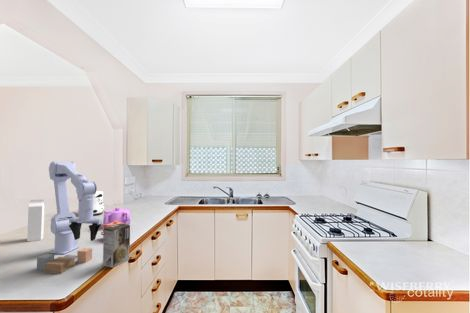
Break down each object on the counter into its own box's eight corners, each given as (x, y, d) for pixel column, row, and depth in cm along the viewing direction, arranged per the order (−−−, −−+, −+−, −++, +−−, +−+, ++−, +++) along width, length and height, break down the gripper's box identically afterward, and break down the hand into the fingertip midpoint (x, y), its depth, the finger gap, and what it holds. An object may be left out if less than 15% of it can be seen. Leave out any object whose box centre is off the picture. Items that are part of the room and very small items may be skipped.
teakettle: (102, 230, 154) (103, 211, 154) (103, 223, 169) (103, 206, 170) (131, 227, 162) (132, 209, 162) (129, 221, 177) (130, 204, 177)
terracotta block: (83, 258, 111) (84, 247, 111) (91, 259, 110) (92, 248, 111) (77, 262, 107) (77, 251, 107) (85, 262, 106) (85, 251, 107)
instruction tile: (66, 255, 114) (66, 254, 114) (78, 256, 113) (78, 255, 113) (52, 262, 106) (52, 261, 106) (65, 263, 105) (65, 262, 105)
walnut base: (59, 264, 104) (59, 256, 104) (74, 265, 103) (74, 257, 103) (44, 272, 97) (45, 263, 97) (60, 273, 96) (61, 264, 96)
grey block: (45, 265, 103) (45, 253, 103) (53, 266, 103) (54, 254, 103) (36, 269, 99) (37, 257, 99) (45, 270, 99) (46, 258, 99)
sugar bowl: (122, 242, 133) (122, 223, 134) (95, 242, 132) (96, 223, 133) (130, 235, 146) (130, 218, 146) (106, 235, 145) (106, 218, 145)
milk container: (108, 213, 199) (109, 192, 200) (86, 217, 185) (87, 194, 185) (96, 211, 209) (97, 190, 209) (75, 214, 194) (75, 192, 194)
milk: (30, 238, 136) (31, 199, 137) (43, 237, 139) (44, 198, 139) (27, 241, 131) (28, 200, 131) (41, 240, 134) (42, 200, 134)
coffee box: (119, 257, 113) (120, 222, 113) (129, 260, 110) (130, 224, 110) (101, 265, 104) (103, 227, 104) (112, 268, 102) (113, 229, 102)
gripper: (63, 210, 106) (62, 241, 105) (95, 211, 104) (94, 243, 104) (76, 207, 113) (75, 236, 112) (105, 208, 111) (104, 238, 111)
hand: (85, 239), depth 109 cm, fingers open, 7 cm apart
